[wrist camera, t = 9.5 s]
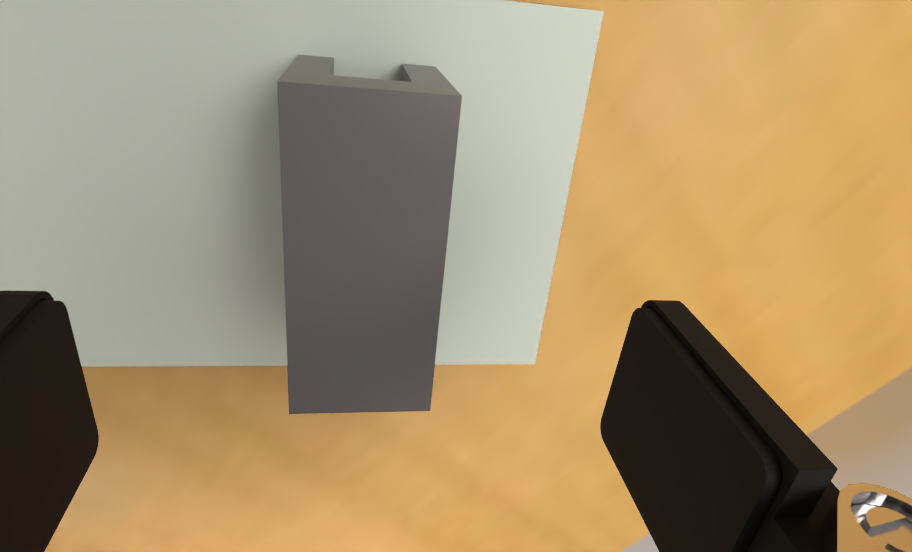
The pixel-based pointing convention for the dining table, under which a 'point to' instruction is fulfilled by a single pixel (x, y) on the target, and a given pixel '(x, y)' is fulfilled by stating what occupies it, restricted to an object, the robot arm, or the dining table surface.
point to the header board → (267, 163)
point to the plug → (364, 233)
